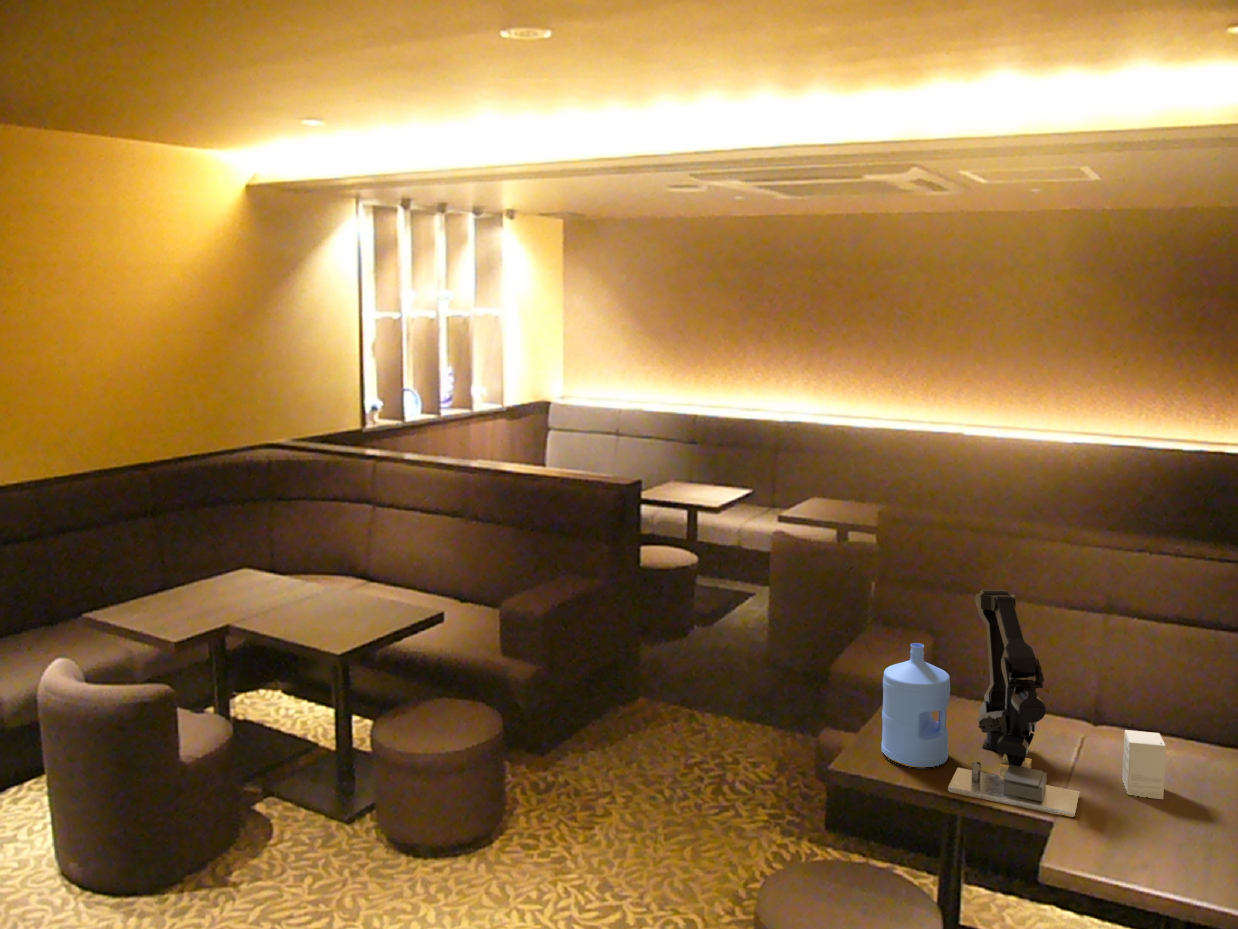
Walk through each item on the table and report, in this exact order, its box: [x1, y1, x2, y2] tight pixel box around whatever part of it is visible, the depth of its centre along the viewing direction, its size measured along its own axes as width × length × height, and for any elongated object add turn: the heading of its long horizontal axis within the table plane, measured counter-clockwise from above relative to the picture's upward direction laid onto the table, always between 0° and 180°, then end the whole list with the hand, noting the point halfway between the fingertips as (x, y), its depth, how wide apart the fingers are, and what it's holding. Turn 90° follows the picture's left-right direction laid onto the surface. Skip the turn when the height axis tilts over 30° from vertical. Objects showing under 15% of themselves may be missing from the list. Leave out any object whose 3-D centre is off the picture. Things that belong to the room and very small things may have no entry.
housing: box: [1004, 765, 1048, 802], centre depth 218 cm, size 8×8×4 cm
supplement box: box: [1121, 729, 1167, 800], centre depth 219 cm, size 7×7×13 cm
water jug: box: [881, 642, 951, 768], centre depth 238 cm, size 16×16×28 cm
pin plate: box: [947, 760, 1081, 816], centre depth 219 cm, size 11×26×6 cm, turn 61°
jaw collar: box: [999, 753, 1033, 777], centre depth 229 cm, size 6×6×3 cm
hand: (1015, 769), depth 229 cm, fingers closed on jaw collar, 6 cm apart
